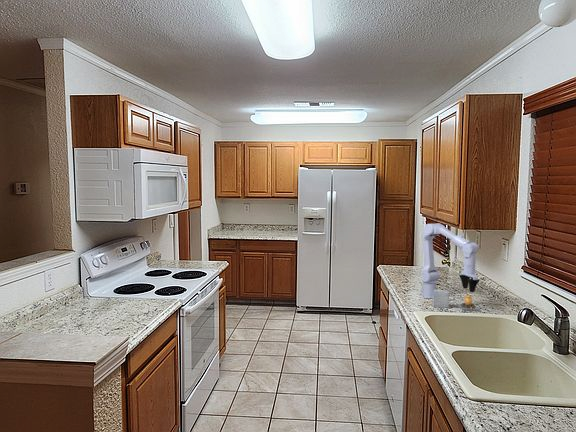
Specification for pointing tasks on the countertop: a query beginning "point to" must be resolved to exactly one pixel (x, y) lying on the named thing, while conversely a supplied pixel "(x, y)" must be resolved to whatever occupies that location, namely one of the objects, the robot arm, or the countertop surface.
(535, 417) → the countertop surface
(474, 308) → the junction plate
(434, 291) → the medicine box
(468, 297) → the wire nut cap
